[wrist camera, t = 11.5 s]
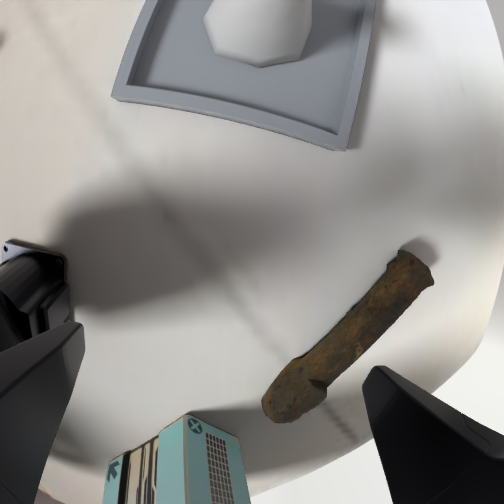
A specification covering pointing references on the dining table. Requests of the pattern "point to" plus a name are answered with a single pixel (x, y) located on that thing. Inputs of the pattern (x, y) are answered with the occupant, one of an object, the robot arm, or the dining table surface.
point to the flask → (259, 29)
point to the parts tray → (251, 71)
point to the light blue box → (180, 468)
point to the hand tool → (346, 340)
